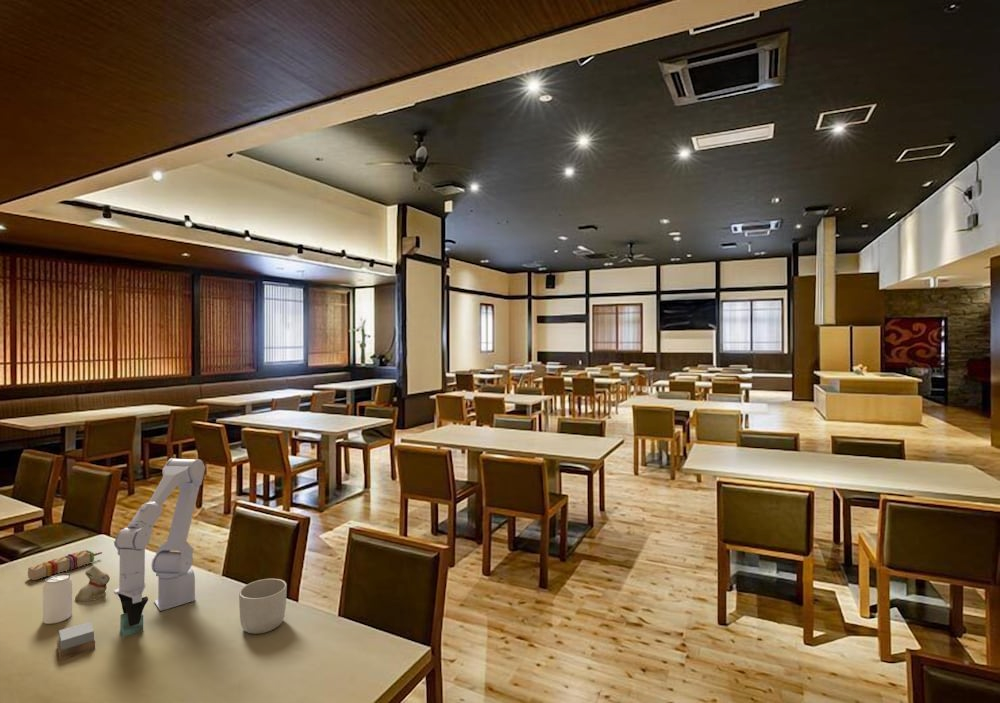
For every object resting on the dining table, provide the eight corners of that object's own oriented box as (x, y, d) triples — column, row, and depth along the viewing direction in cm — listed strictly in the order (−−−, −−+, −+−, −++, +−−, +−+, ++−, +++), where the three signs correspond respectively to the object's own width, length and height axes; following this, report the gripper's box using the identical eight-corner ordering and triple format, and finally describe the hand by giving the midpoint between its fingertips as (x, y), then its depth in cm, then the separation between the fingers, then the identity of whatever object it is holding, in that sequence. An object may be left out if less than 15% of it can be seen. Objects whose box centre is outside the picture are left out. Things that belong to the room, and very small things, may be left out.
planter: (293, 625, 146) (294, 588, 146) (248, 643, 137) (249, 603, 136) (275, 610, 154) (275, 574, 154) (231, 626, 145) (232, 588, 145)
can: (54, 626, 144) (55, 584, 144) (36, 623, 145) (36, 581, 145) (77, 614, 150) (78, 574, 150) (60, 611, 151) (60, 571, 151)
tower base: (91, 639, 138) (91, 629, 138) (95, 649, 134) (95, 640, 134) (57, 649, 133) (57, 640, 133) (60, 661, 129) (60, 651, 129)
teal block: (139, 624, 145) (139, 608, 145) (143, 630, 142) (143, 614, 142) (120, 630, 142) (120, 614, 142) (123, 637, 139) (123, 620, 139)
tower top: (90, 630, 138) (90, 621, 138) (93, 640, 134) (93, 631, 134) (58, 639, 134) (59, 630, 134) (61, 650, 129) (61, 640, 129)
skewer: (34, 583, 169) (34, 568, 169) (26, 579, 172) (26, 564, 172) (106, 560, 187) (106, 547, 187) (97, 557, 190) (97, 544, 190)
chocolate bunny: (97, 602, 157) (97, 570, 157) (72, 601, 158) (72, 569, 157) (111, 593, 163) (111, 562, 163) (87, 592, 163) (87, 561, 163)
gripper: (109, 566, 144) (109, 614, 144) (119, 583, 134) (118, 635, 134) (139, 559, 149) (139, 605, 149) (151, 575, 139) (150, 625, 139)
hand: (131, 619), depth 142 cm, fingers open, 7 cm apart
